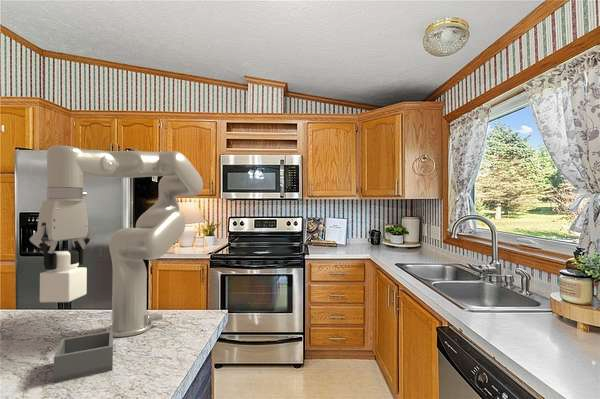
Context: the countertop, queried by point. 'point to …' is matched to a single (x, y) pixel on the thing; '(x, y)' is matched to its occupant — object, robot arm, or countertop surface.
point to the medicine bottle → (64, 279)
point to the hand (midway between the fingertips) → (64, 266)
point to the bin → (83, 356)
